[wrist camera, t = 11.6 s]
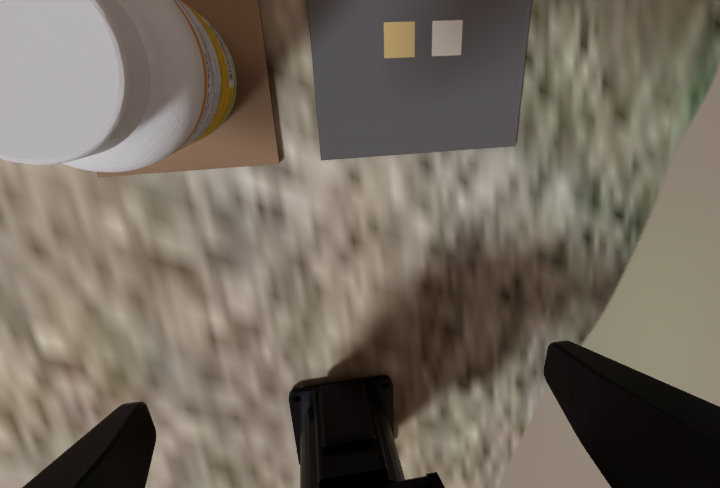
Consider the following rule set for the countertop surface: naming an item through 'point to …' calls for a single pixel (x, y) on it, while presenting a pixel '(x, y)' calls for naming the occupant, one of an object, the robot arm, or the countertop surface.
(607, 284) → the countertop surface
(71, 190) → the countertop surface
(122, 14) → the supplement bottle
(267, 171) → the countertop surface
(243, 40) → the walnut coaster
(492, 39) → the mat
